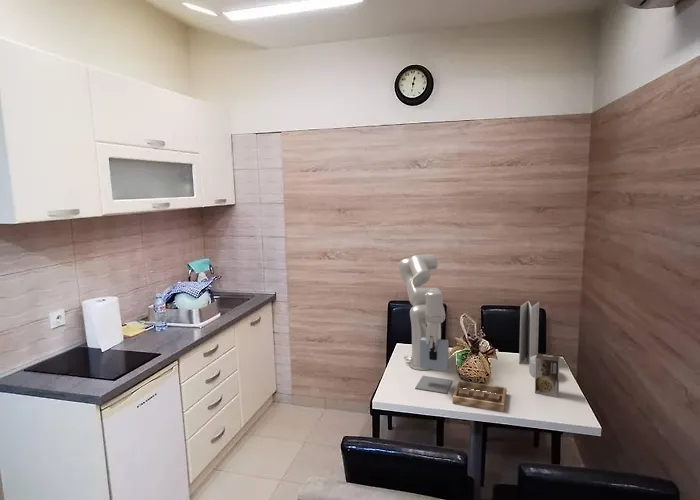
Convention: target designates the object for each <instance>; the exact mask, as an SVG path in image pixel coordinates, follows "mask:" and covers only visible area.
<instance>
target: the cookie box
mask: <svg viewBox="0 0 700 500" xmlns="http://www.w3.org/2000/svg"><path fill="white" fill-rule="evenodd" d="M534 379H535V380H534V381H535V382H534V383H535V384H534V385H535V386H534V387H535V390H534V393H535V394H537V395H544V396H550V397H555V398H558V397H559V392H560V391H559V390H560V356H559V355H552V354H547V353H546V354H545V353H539V352H538V353H537V356H536V372H535V378H534Z"/></svg>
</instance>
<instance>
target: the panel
mask: <svg viewBox="0 0 700 500" xmlns="http://www.w3.org/2000/svg"><path fill="white" fill-rule="evenodd" d="M429 342H430V341H429ZM433 344H435V343H433ZM429 346H430V343H429V344H428V345H427V344H426V338H424V337H422V338H421V339H420V368H427V369H429V370H435V371H442V372H443V371H444V372H447V371H448V370H449V364H450V363H449V339H442V338H441V339H440V340H439V341H438V344H437V345H436V351H437V360H430V359H429V349H430V348H429ZM433 347H435V346H433Z"/></svg>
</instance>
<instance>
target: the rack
mask: <svg viewBox="0 0 700 500" xmlns="http://www.w3.org/2000/svg"><path fill="white" fill-rule="evenodd" d="M463 388H467V389H465V390H469V389H474V390H470V398H466V397H459V390H460V389H463ZM476 390H480V391H478V392H482V391H487V392H484V393H485V399H486V400H478V399H473V398H471V397H473V394H474V392H475V391H476ZM489 392H491V394H495V393H496V394H497V395H500V403H496V402H490V401H488V399H489V394H490V393H489ZM506 399H507V387H503V386H498V385H492V384H484V383H477V382H471V381H466V380H459V381H458V383H457V384H456V387H455V390H454V392H453V395H452V404H454V405H459V404H460V406H465V405H466V406H467V407H471V406H472V407H473V408H477V409H483V410H489V409H490V410H489V411H495V412H502V413H504V412H505V411H504V410H505V405H506Z"/></svg>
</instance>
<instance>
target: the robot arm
mask: <svg viewBox="0 0 700 500" xmlns="http://www.w3.org/2000/svg"><path fill="white" fill-rule="evenodd" d="M438 265H439V262H438V259H437V257H436V256H435V255H434V254H430V253H429V254H427V253H426V254H415V255H412V256H411V257H407V258H403V259H401V260H400V262H399V264H398V269H399V271H398V272H399V274H400V277H401V279H402V281H403V283H404V284H405V287H406V290H407V292H406V293H407V296H408V300H409V303H410V305H412V307H411V308H410V310H409V317H410V318H409V319H410V324H411V353H412V354H411V355H408V354H406V355H404V356H403V357H404V358H403V359H404V360H405V361H407V362H408V361H409V362H408V366H409V367H410V368H411V369H413V370H416V371H428V370H430V369H427V368H420V339H421V338H422V337H424V338H426V344H427V345H428V344H429V343H430V346H429V348H430V349H429V359H430V360H437V351H436V345H437V344H438V341H439V340H440V339H442V328H441V327H442V323H443V322H444V321H446V320H445V319H446V311H445V308H444V304H443V301H444V300H443V299H444V298H443V295H444V294H443V293H442V291H441V289H439V287H424V286H423V285H425V284H427V283H428V282H429V281H430V279H432V277H431V275H432V272H434V271H436V270H437V269H438ZM429 341H430V342H429ZM433 343H435V344H433ZM433 346H435V347H433Z"/></svg>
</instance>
